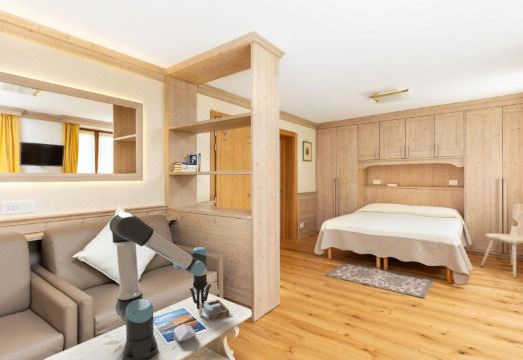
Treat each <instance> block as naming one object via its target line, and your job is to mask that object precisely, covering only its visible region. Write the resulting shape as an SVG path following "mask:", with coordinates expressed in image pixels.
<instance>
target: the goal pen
mask: <svg viewBox="0 0 523 360" xmlns="http://www.w3.org/2000/svg"><path fill="white" fill-rule="evenodd" d="M207 303H208V304H209V305H214V304H218V303H219V304H220V305H221V311H220V312H217V313H213V314H211V317H210V318H211V320H212V321H213V320H214V321H215V320H217V319H221V318H224V317H227V316H228V317H229V316H230V309H228V308H227V306H225V305H224V304H223V302H222V301H220V300H219V299H215V300H213V301H212V300H211V301H208V302H207V301H206V302H204V304H207Z"/></svg>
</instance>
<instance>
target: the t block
mask: <svg viewBox="0 0 523 360" xmlns="http://www.w3.org/2000/svg"><path fill="white" fill-rule="evenodd" d="M206 303H207V302H206ZM220 311H222V310H221V305H220V304H219V303H218V304H214V305H209V304H208V303H207V304H204V307H203V308H202V312H203V313H204V314H205V315H206V317H207V318H208V319H210V318H211V314H213V313H217V312H220Z"/></svg>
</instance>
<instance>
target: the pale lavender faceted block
mask: <svg viewBox="0 0 523 360" xmlns="http://www.w3.org/2000/svg"><path fill="white" fill-rule="evenodd" d="M195 336H198V334H197V333H196V331H195V330H194V329H193V327H192V326H191V325H187V324H185V323H182V324H181V325H179V326H177V327H175V328H174V330H173V339H174V341H175V342H186V341H188V340H189V339H191V338H192V337H195Z"/></svg>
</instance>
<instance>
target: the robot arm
mask: <svg viewBox="0 0 523 360" xmlns="http://www.w3.org/2000/svg"><path fill="white" fill-rule="evenodd" d="M108 226H109V230H110V232H111V235H112V236H111V237H112V243H113V244H115V245H116V255H117V269H118V281H119V293H118V294H117V295H116V303H115V311H116V313H117V315H118V316H119V318H120V319H121V320H122V322H123V324H125V328H126V329H125V332H126V333H125V335H126V341H125V344H124V346H123V350H122V360H151V359H152V358H153V357H155V356H156V355H157V353H158V347H159V345H158V342H157V340H156V337H155V335H154V334H155V333H154V311H155V310H154V304H153V303H152V301H151V300H149V299H145V298H144V295H143V293H144V292H143V289H141V288H140V286H139V285H140V284H139V272H138V271H139V269H138V259H137V258H138V256H137V245H138V246H139V247H146V248H148V249H149V250H151V251H152V252H155V253H156V254H157V255H160V256H161V257H163V258H165V259H166V260H168V261H170V262H171V263H172V267H173V268H174V269H175V270H184V271H186V272H189V273H190V274H191V275H193V283H192V286H189V287H188V289H189V290H190V294H191V297H192V301H193V302H194V304H196V309H197V313H198V315H199V316H202V315H203V307H204V303H206V302H207V301H208V297H209V292H210V288H212V287H211V286H212V284H211V283H209V282H208V281H207V273H208V272H207V271H208V269H207V258H208V257H207V256H208V255H207V253H208V252H207V248H206V247H203V246H198V247H194V248H193V250H192V251H193V252H189V253H188V252H186V251H185V250H184V249H182V248H180V247H179V246H178V245H176V244H174V243H173V242H171V241H169V240H168V239H166V238H164V237H163V236H161V235H160V234H159V233H156V231H155V229H154V228H153V227H151V226H150V225H149V224H147V223H146V222H145V221H144V220H142V219H141V217H139V216H137V215H135V214H132V213H129V212H119V213H116V214H115V215H113V216H112V217H111V219H110V221H109V225H108ZM194 291H196V292H194ZM195 293H196V295H195Z"/></svg>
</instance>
